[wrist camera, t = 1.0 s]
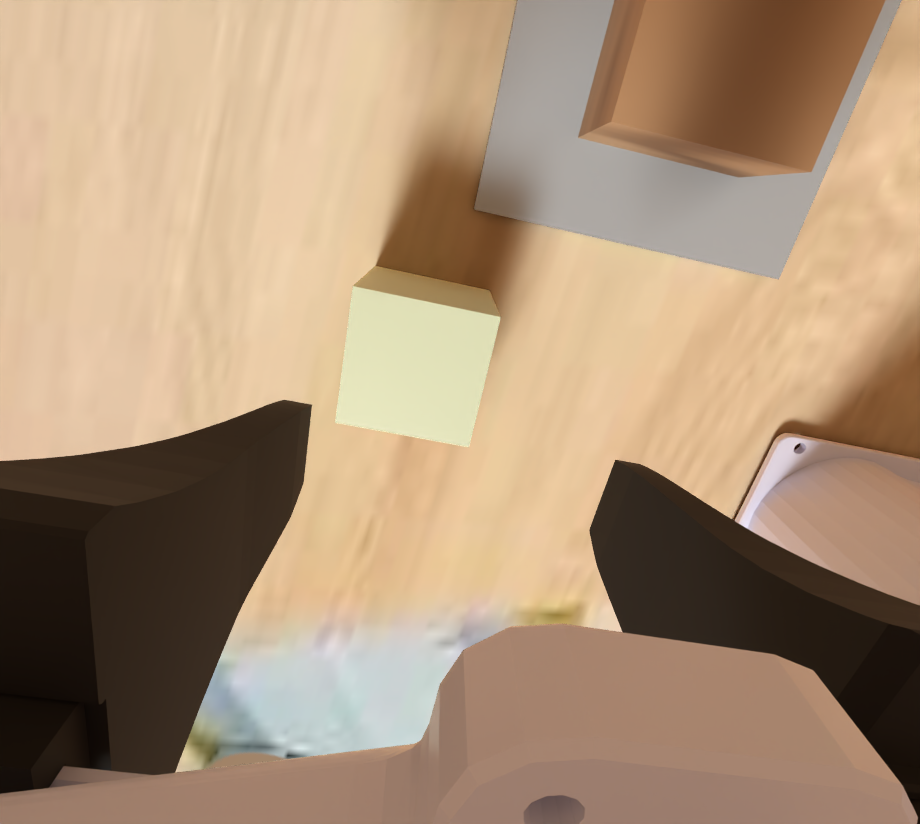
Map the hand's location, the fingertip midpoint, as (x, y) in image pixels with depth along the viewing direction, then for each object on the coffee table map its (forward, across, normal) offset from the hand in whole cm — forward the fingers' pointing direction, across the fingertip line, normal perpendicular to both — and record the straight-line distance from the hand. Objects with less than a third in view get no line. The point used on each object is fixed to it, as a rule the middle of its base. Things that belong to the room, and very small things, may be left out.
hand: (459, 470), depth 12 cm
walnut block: (+9, -6, -12) cm, 16 cm away
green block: (+10, +1, 0) cm, 10 cm away
